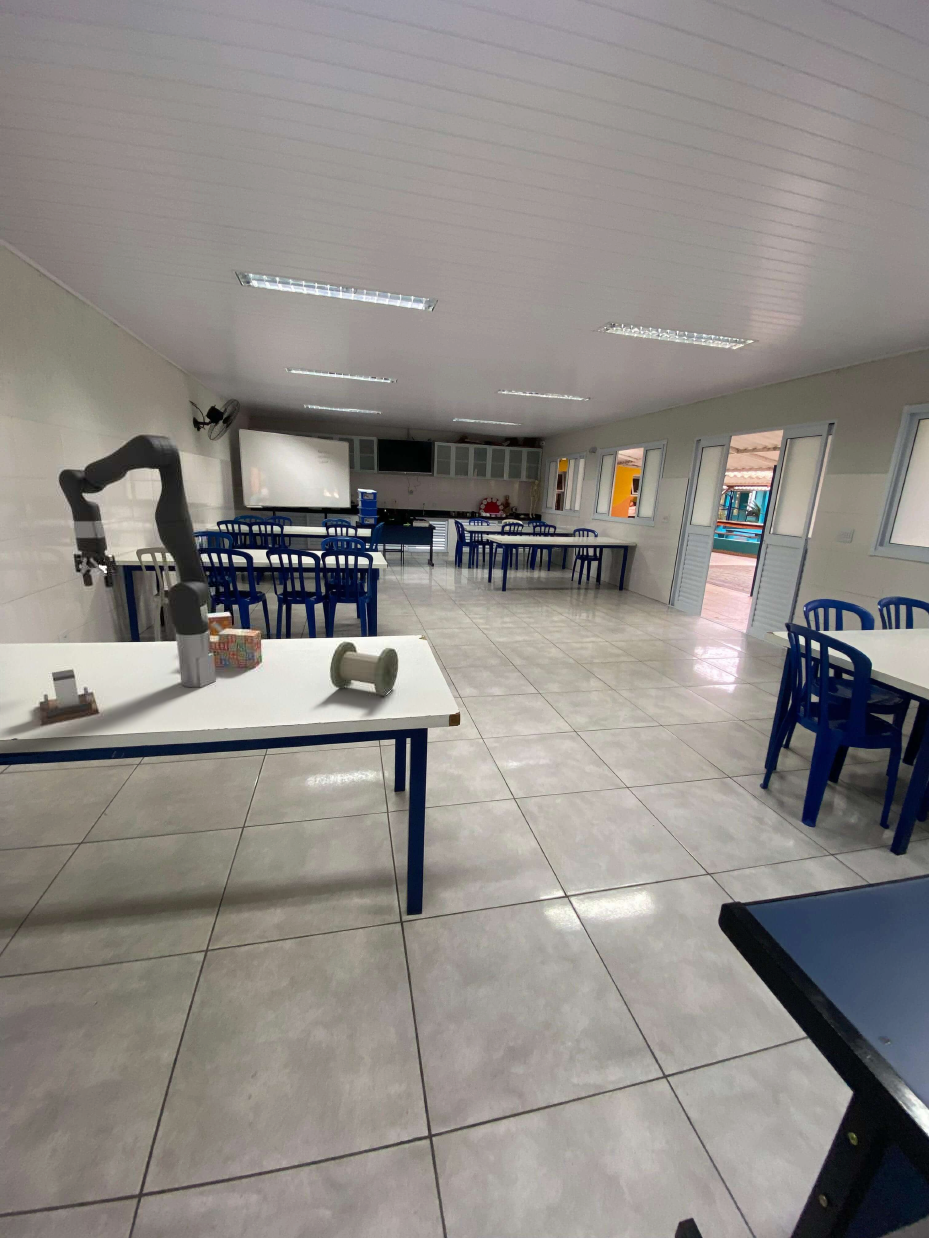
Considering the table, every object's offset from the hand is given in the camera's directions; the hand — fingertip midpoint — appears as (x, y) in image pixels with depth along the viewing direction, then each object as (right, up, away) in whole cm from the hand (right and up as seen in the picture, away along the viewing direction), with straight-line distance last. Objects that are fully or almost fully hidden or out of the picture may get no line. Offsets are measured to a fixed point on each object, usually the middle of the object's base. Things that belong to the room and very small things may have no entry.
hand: (99, 586), depth 155 cm
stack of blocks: (+34, -27, +17) cm, 46 cm away
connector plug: (+9, -35, -23) cm, 43 cm away
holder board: (+8, -36, -22) cm, 42 cm away
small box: (+22, -21, +34) cm, 46 cm away
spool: (+86, -34, +2) cm, 92 cm away
